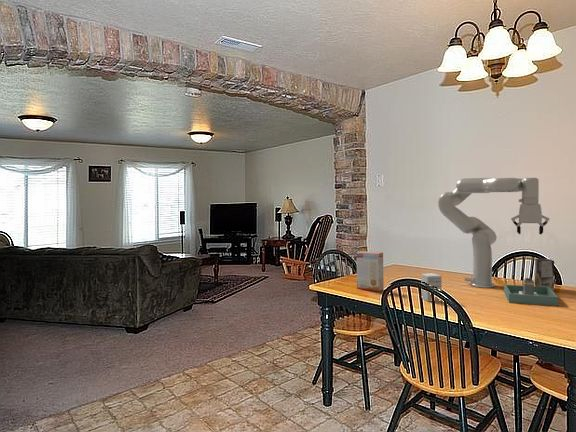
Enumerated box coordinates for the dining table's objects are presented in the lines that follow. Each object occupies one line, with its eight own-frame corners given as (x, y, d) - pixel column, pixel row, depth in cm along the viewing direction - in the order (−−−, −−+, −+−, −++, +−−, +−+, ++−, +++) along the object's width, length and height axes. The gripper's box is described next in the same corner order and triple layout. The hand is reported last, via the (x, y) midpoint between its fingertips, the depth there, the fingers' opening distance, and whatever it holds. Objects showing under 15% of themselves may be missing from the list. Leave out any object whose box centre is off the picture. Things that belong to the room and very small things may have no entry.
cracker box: (384, 290, 225) (383, 252, 224) (378, 292, 221) (378, 253, 220) (362, 286, 235) (362, 250, 234) (356, 288, 230) (356, 251, 230)
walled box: (508, 302, 195) (508, 293, 194) (503, 292, 215) (504, 284, 215) (558, 305, 187) (558, 297, 187) (548, 295, 207) (548, 287, 207)
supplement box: (421, 298, 206) (420, 273, 205) (435, 297, 206) (435, 272, 206) (427, 302, 198) (427, 276, 198) (442, 301, 199) (441, 275, 198)
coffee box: (554, 291, 215) (554, 260, 214) (540, 291, 216) (541, 260, 215) (547, 287, 224) (547, 258, 223) (534, 287, 225) (534, 258, 224)
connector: (524, 296, 202) (524, 279, 201) (523, 294, 205) (523, 277, 205) (534, 297, 200) (534, 279, 200) (532, 295, 204) (532, 277, 203)
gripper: (512, 201, 213) (512, 234, 214) (551, 201, 207) (550, 235, 208) (510, 201, 220) (510, 233, 221) (547, 201, 214) (547, 233, 214)
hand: (529, 234), depth 214 cm, fingers open, 9 cm apart
